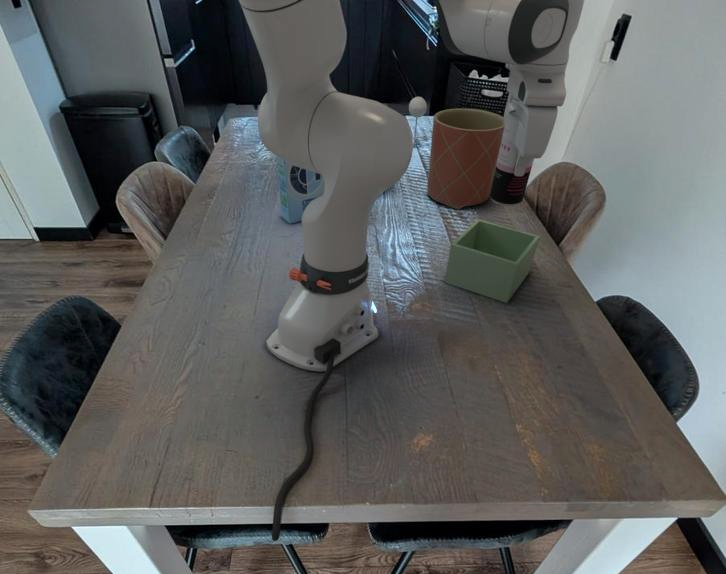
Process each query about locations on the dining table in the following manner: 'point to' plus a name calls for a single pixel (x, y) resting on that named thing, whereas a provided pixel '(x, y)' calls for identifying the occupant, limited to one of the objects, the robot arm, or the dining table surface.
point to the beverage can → (509, 168)
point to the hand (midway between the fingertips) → (514, 167)
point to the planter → (464, 156)
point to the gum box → (297, 189)
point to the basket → (491, 259)
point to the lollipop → (417, 110)
